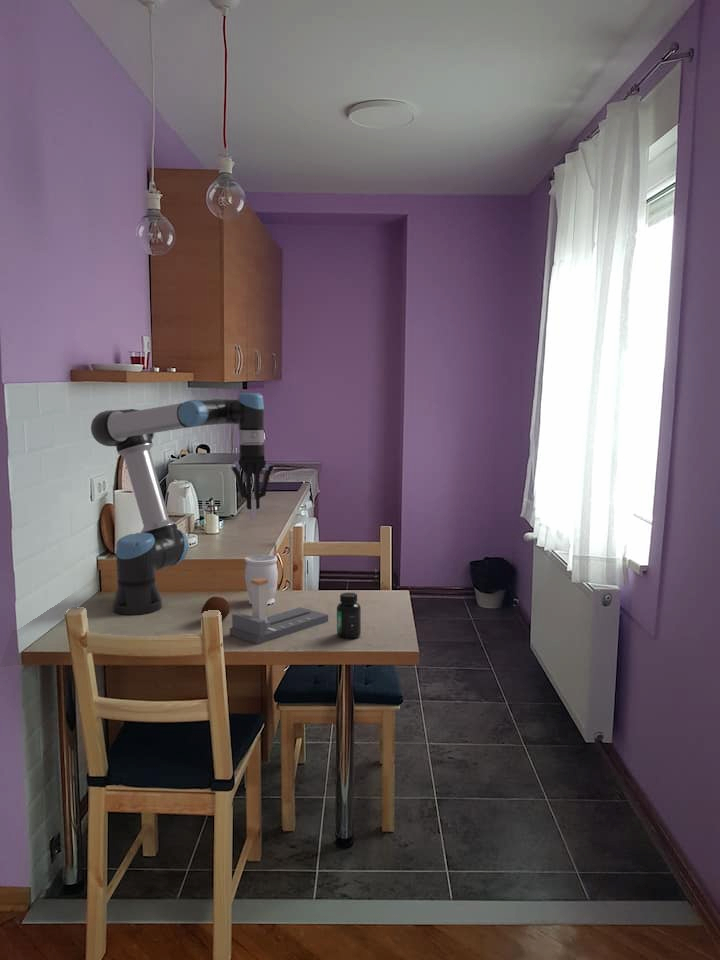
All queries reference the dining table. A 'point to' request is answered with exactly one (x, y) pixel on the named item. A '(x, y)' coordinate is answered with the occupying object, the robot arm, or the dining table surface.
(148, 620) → the dining table surface
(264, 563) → the jar
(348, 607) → the supplement bottle
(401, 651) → the dining table surface
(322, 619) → the console
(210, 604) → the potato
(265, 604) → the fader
